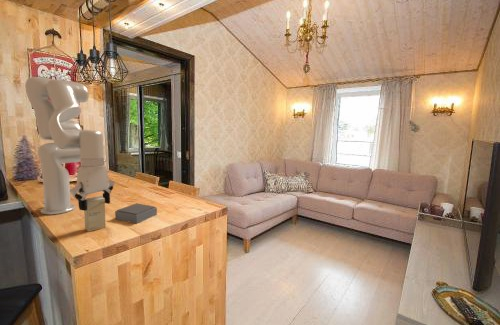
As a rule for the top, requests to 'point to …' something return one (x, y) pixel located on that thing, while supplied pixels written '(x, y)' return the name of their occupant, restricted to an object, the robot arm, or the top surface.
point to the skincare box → (95, 213)
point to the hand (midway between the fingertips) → (95, 206)
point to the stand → (136, 213)
